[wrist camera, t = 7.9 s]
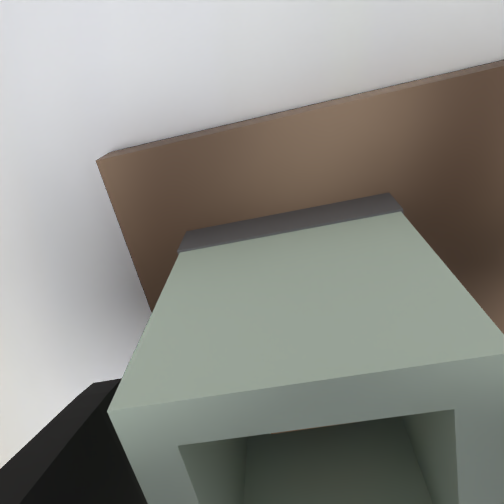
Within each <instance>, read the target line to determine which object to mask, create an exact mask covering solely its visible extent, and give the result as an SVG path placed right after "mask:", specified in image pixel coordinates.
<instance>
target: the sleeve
mask: <svg viewBox="0 0 504 504" xmlns="http://www.w3.org/2000/svg"><path fill="white" fill-rule="evenodd" d="M177 253H178V258H177V260H176V262H175V264H174V266H173V268H172V271H171V273H170V275H169V277H168V279H167V282H166V284H165V286H164V288H163V290H162V292H161V295H160V297H159V299H158V301H157V303H156V305H155V308H154V310H153V312H152V314H151V316H150V319H149V321H148V323H147V325H146V327H145V329H144V332H143V334H142V336H141V338H140V340H139V342H138V345H137V347H136V349H135V351H134V353H133V356H132V358H131V360H130V362H129V364H128V366H127V369H126V371H125V373H124V375H123V377H122V379H121V382H120V384H119V386H118V388H117V390H116V393H115V395H114V397H113V399H112V401H111V403H110V406H109V408H108V410H107V413H108V415H109V417H110V419H111V422H112V424H113V426H114V428H115V431H116V433H117V435H118V437H119V440H120V442H121V444H122V446H123V449H124V451H125V453H126V455H127V458H128V460H129V462H130V464H131V467H132V469H133V471H134V473H135V476H136V478H137V480H138V482H139V485H140V487H141V489H142V491H143V494H144V496H145V498H146V500H147V503H148V504H504V334H503V333H502V332H501V331H500V329H499V328H498V327H497V326H496V325H495V323H494V322H493V321H492V320H491V319H490V317H489V316H488V315H487V314H486V313H485V311H484V310H483V309H482V308H481V307H480V305H479V304H478V303H477V302H476V301H475V299H474V298H473V297H472V296H471V295H470V293H469V292H468V291H467V290H466V289H465V287H464V286H463V285H462V284H461V283H460V282H459V280H458V279H457V278H456V277H455V276H454V274H453V273H452V272H451V271H450V270H449V268H448V267H447V266H446V265H445V264H444V262H443V261H442V260H441V259H440V258H439V256H438V255H437V254H436V253H435V252H434V250H433V249H432V248H431V247H430V246H429V244H428V243H427V242H426V241H425V240H424V238H423V237H422V236H421V235H420V234H419V232H418V231H417V230H416V229H415V228H414V227H413V225H412V224H411V223H410V222H409V221H408V219H407V218H406V217H405V216H404V213H403V208H402V207H401V206H400V205H399V203H398V202H397V201H396V200H395V199H394V198H393V196H392V195H391V194H390V193H383V194H378V195H373V196H368V197H363V198H357V199H352V200H347V201H342V202H337V203H331V204H326V205H321V206H316V207H310V208H305V209H300V210H295V211H290V212H284V213H279V214H274V215H269V216H264V217H258V218H253V219H248V220H243V221H237V222H232V223H227V224H222V225H217V226H211V227H206V228H201V229H196V230H191V231H186V233H185V235H184V237H183V239H182V242H181V244H180V246H179V248H178V250H177ZM360 421H361V422H360ZM353 422H354V423H353ZM345 423H347V424H345ZM337 424H340V425H337ZM330 425H333V426H330ZM322 426H326V427H322ZM315 427H319V428H315ZM307 428H312V429H307ZM300 429H305V430H300ZM292 430H298V431H292ZM285 431H291V432H285ZM277 432H284V433H277ZM271 433H277V434H271Z"/></svg>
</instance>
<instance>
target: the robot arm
mask: <svg viewBox="0 0 504 504" xmlns="http://www.w3.org/2000/svg"><path fill="white" fill-rule="evenodd" d="M120 382H121V379H116V380H109V381H103V382H97V383H93V384H92V385H90V386H89V387H88V388H87V389H85V390H84V391H83V392H82V393H81V394H80V395H78V396H77V397H76V398H75V399H74V400H73V401H72V402H71V403H70V404H69V405H68V406H66V407H65V408H64V409H63V410H62V411H61V412H60V413H59V414H58V415H57V416H56V417H55V418H54V419H53V420H52V421H51V422H49V423H48V424H47V425H46V426H45V427H44V428H43V429H42V430H41V431H40V432H39V433H38V434H37V435H36V436H35V437H34V438H33V439H32V440H31V441H29V442H28V443H27V444H26V445H25V446H24V447H23V448H22V449H21V450H20V451H19V452H18V453H17V454H16V455H15V456H14V457H13V458H12V459H10V460H9V461H8V462H7V463H6V464H5V465H4V466H3V467H2V468H1V469H0V504H148V503H147V500H146V498H145V496H144V494H143V491H142V489H141V487H140V485H139V482H138V480H137V478H136V476H135V473H134V471H133V469H132V467H131V464H130V462H129V460H128V458H127V455H126V453H125V451H124V449H123V446H122V444H121V442H120V440H119V437H118V435H117V433H116V431H115V428H114V426H113V424H112V422H111V419H110V417H109V415H108V413H107V410H108V408H109V406H110V403H111V401H112V399H113V397H114V395H115V393H116V390H117V388H118V386H119V384H120Z"/></svg>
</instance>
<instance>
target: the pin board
mask: <svg viewBox="0 0 504 504" xmlns="http://www.w3.org/2000/svg"><path fill="white" fill-rule="evenodd" d="M96 163H97V166H98V168H99V171H100V174H101V176H102V179H103V182H104V185H105V187H106V190H107V193H108V195H109V198H110V201H111V203H112V206H113V209H114V212H115V214H116V217H117V220H118V222H119V225H120V228H121V231H122V233H123V236H124V239H125V241H126V244H127V247H128V249H129V252H130V255H131V258H132V260H133V263H134V266H135V268H136V271H137V274H138V277H139V279H140V282H141V285H142V287H143V290H144V293H145V295H146V298H147V301H148V304H149V306H150V309H151V312H153V310H154V308H155V305H156V303H157V301H158V299H159V297H160V295H161V292H162V290H163V288H164V286H165V284H166V282H167V279H168V277H169V275H170V273H171V271H172V268H173V266H174V264H175V262H176V260H177V258H178V253H177V250H178V248H179V246H180V244H181V242H182V239H183V237H184V235H185V233H186V231H191V230H196V229H201V228H206V227H211V226H217V225H222V224H227V223H232V222H237V221H243V220H248V219H253V218H258V217H264V216H269V215H274V214H279V213H284V212H290V211H295V210H300V209H305V208H310V207H316V206H321V205H326V204H331V203H337V202H342V201H347V200H352V199H357V198H363V197H368V196H373V195H378V194H383V193H390V194H391V195H392V196H393V198H394V199H395V200H396V201H397V202H398V203H399V205H400V206H401V207H402V208H403V213H404V216H405V217H406V218H407V219H408V221H409V222H410V223H411V224H412V225H413V227H414V228H415V229H416V230H417V231H418V232H419V234H420V235H421V236H422V237H423V238H424V240H425V241H426V242H427V243H428V244H429V246H430V247H431V248H432V249H433V250H434V252H435V253H436V254H437V255H438V256H439V258H440V259H441V260H442V261H443V262H444V264H445V265H446V266H447V267H448V268H449V270H450V271H451V272H452V273H453V274H454V276H455V277H456V278H457V279H458V280H459V282H460V283H461V284H462V285H463V286H464V287H465V289H466V290H467V291H468V292H469V293H470V295H471V296H472V297H473V298H474V299H475V301H476V302H477V303H478V304H479V305H480V307H481V308H482V309H483V310H484V311H485V313H486V314H487V315H488V316H489V317H490V319H491V320H492V321H493V322H494V323H495V325H496V326H497V327H498V328H499V329H500V331H501V332H502V333H503V334H504V60H501V61H497V62H493V63H488V64H484V65H480V66H476V67H471V68H467V69H463V70H459V71H454V72H450V73H446V74H441V75H437V76H433V77H429V78H424V79H420V80H416V81H412V82H407V83H403V84H399V85H395V86H390V87H386V88H382V89H377V90H373V91H369V92H365V93H360V94H356V95H352V96H348V97H343V98H339V99H335V100H330V101H326V102H322V103H318V104H313V105H309V106H305V107H301V108H296V109H292V110H288V111H284V112H279V113H275V114H271V115H266V116H262V117H258V118H254V119H249V120H245V121H241V122H237V123H232V124H228V125H224V126H220V127H215V128H211V129H207V130H202V131H198V132H194V133H190V134H185V135H181V136H177V137H173V138H168V139H164V140H160V141H155V142H151V143H147V144H143V145H138V146H134V147H130V148H126V149H121V150H117V151H113V152H109V153H108V154H106V155H104V156H103V157H101V158H99V159H98V160H96ZM360 422H361V421H360ZM353 423H354V422H353ZM345 424H347V423H345ZM337 425H340V424H337ZM330 426H333V425H330ZM322 427H326V426H322ZM315 428H319V427H315ZM307 429H312V428H307ZM300 430H305V429H300ZM292 431H298V430H292ZM285 432H291V431H285ZM277 433H284V432H277ZM277 433H271V434H277Z"/></svg>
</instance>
